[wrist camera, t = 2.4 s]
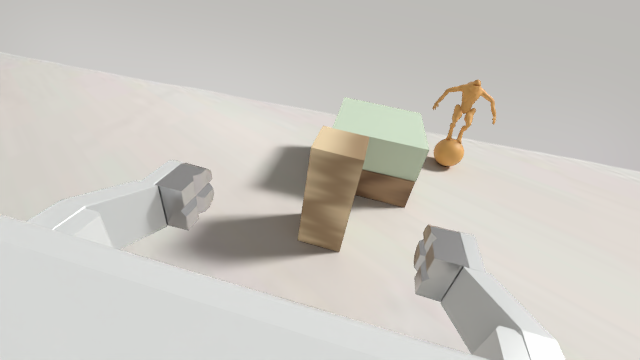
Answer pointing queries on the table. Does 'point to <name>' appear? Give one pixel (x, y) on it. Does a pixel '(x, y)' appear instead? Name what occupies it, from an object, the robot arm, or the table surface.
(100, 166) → the table surface
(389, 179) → the tower base
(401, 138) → the pale green square slab
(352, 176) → the oak post
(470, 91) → the figurine
